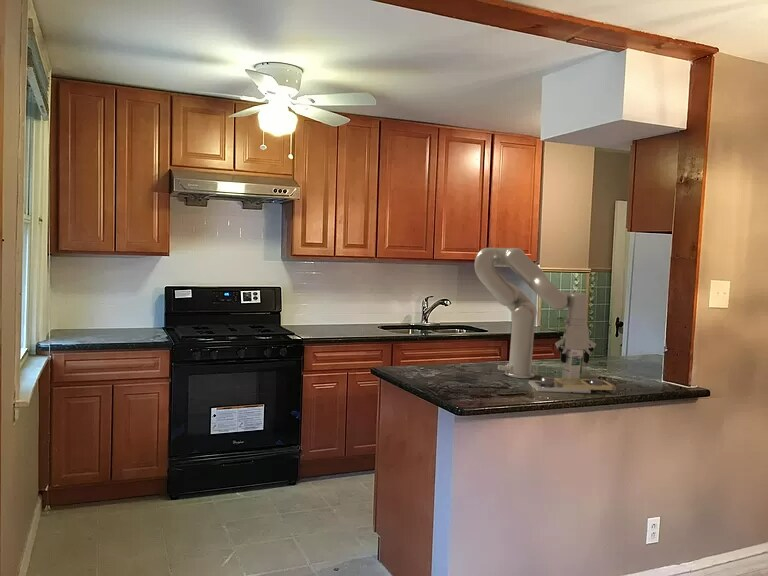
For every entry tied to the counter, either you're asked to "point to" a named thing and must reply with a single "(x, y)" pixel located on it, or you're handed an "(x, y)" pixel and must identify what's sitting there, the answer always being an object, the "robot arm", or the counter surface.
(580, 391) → the steel end link
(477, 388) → the counter surface
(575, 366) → the syrup box
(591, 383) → the brass end link
